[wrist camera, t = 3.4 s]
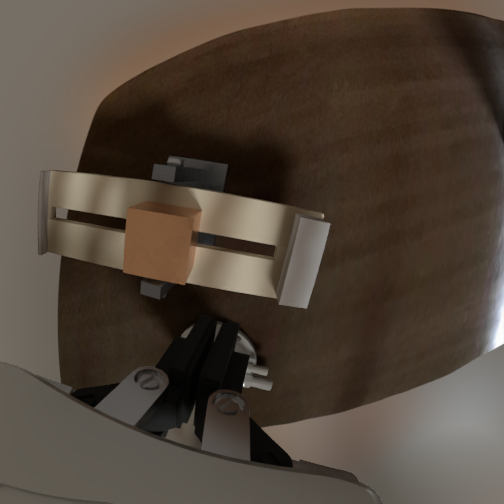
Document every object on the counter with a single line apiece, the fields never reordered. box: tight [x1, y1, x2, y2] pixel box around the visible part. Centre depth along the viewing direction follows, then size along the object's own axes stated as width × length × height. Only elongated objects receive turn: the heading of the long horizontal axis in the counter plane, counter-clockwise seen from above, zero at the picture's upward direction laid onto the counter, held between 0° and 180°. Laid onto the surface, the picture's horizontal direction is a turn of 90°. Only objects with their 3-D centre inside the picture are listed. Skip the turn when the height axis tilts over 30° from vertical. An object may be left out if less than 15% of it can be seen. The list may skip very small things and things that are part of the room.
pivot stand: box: [141, 156, 229, 300], centre depth 32 cm, size 8×16×10 cm, turn 169°
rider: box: [123, 201, 202, 285], centre depth 26 cm, size 6×6×6 cm
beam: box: [38, 170, 330, 308], centre depth 27 cm, size 32×10×4 cm, turn 79°
